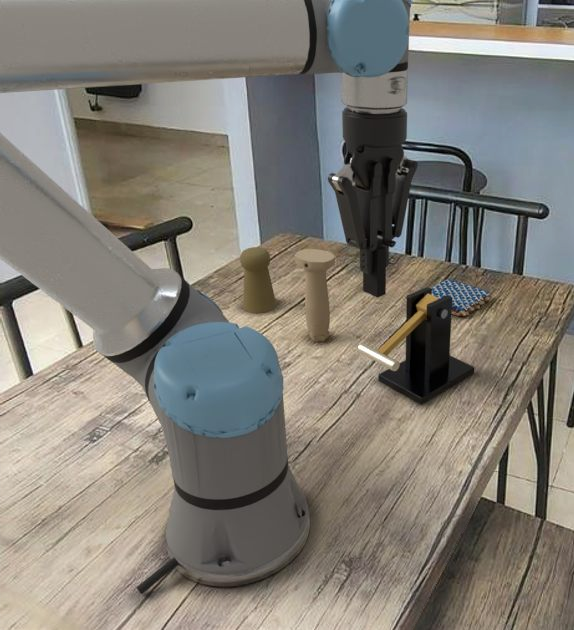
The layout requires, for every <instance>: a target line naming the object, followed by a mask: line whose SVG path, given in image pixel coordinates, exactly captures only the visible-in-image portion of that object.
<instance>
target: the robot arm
mask: <svg viewBox="0 0 574 630" xmlns="http://www.w3.org/2000/svg"><path fill="white" fill-rule="evenodd" d="M411 8H412V1H411V0H0V94H9V93H10V94H11V93H25V92H40V91H56V90H69V89H72V90H73V89H85V88H88V89H89V88H101V87H117V86H118V87H119V86H133V85H134V86H135V85H149V84H162V83H163V84H165V83H178V82H195V81H209V80H224V79H225V80H226V79H227V80H228V79H242V78H255V77H256V78H257V77H258V78H259V77H272V76H273V77H274V76H286V75H289V76H290V75H318V74H319V75H320V74H337V73H338V74H341V103H342V104H343V105H344V106H346V107H344V109H343V110H342V111H341V121H342V122H341V123H342V124H341V125H342V139H343V141H344V142H345V146H346V152H345V155H344V158H343V166H342V167H341V168H340V170H339V171H338V172H337V173H334V172H331V173H329V175H327V181H328V183H329V185H330V186H331V188H332V189H333V191H334V195H335V199H336V202H337V206H338V212H339V216H340V221H341V225H342V230H343V233H344V238H345V239H344V240H345V242H346V243H345V244H347V245H349V246H351V247H354V248H356V249H358V250H359V269H360V271H361V272H362V288H363V289H362V292H363V293H366V294H368V295H370V296H373V297H375V298H380V297H382V296H385V295H386V294H387V293H386V292H387V291H386V290H387V286H386V285H387V274H386V273H387V268H388V267H389V263H390V256H389V255H390V248H394V247H395V246H396V244H397V241H395V240H394V239H395V238H400V237H402V233H403V228H404V224H405V223H404V222H405V217H406V213H407V212H406V211H407V207H408V202H409V196H410V192H411V187H412V186H411V185H412V181H413V179H414V176H415V174H416V171H417V169H418V167H419V163H418V161H416V160H413V159H410V158H407V156H405V150H404V148H403V144H404V143H406V141H407V139H408V138H407V137H408V112H407V111H406V109H404V108H403V107H405V106H407V104H408V84H409V81H408V80H409V52H410V19H411V17H410V16H411ZM0 260H1V261H3V262H4V263H5V264H6V265H8V266H9V267H10V268H12V269H13V270H14V271H16V272H17V273H18V274H20V275H21V276H22V277H24V278H25V279H26V280H28V281H29V282H30V283H31V284H32V285H34V286H35V287H37V288H38V289H39V290H40V291H42V292H43V293H45V294H46V295H47V296H48V297H50V298H51V299H52V300H54V301H55V302H56V303H58V304H59V305H60V306H62V307H63V308H64V309H65V310H67V311H68V312H70V314H72V315H73V316H75V317H76V318H78V319H79V320H80V321H81V322H83V323H84V324H85V325H87V326H88V327H89V328H91V329H92V339H93V340H92V342H93V343H92V344H93V347H94V349H95V351H96V352H98V353H99V354H100V355H101V356H103V357H104V358H105V359H107V360H108V361H110V362H111V363H112V364H113V365H115V366H116V367H117V368H119V369H121V370H122V371H123V372H125V373H126V374H127V375H128V376H130V377H131V378H133V380H135V381H136V382H137V383H138V384H139V385H140V386H141V387H142V389H143V391H144V393H145V395H146V398H147V400H148V402H149V404H150V405H151V408H152V409H153V412H154V414H155V415H156V418H157V421H158V422H159V424H160V426H161V429H162V432H163V435H164V438H165V439H164V440H165V444H166V448H167V453H168V459H169V465H170V470H171V474H172V475H171V476H172V479H173V485H174V490H173V493H172V499H171V503H170V507H169V512H168V517H167V520H166V524H165V528H164V538H165V539H164V540H165V545H166V549H167V555H168V557H169V560H168V561H167V562H165V563H164V564H163V565H161V566H160V567H159V568H158V569H156V570H155V571H154V572H153V573H152V574H151V575H149V576H147V578H146V579H144V580H143V581H142V582H141V583H139V584H138V585H137V586H136V589H137V591H138V592H139V593H140V595H143V594H144V593H146V592H147V591H149V590H150V589H151V587H153V586H154V585H155V584H156V583H157V582H159V581H160V580H161V579H162V578H164V577H165V576H166V575H167V574H169V573H170V572H171V571H173V570H174V569H175V570H177V571H178V572H179V573H180V574H181V575H182V576H184V577H185V578H187V579H189V580H191V581H192V582H194V583H197V584H201V585H206V586H210V587H222V588H224V587H237V586H243V585H248V584H252V583H256V582H258V581H261V580H263V579H266V578H268V577H270V576H272V575H274V574H276V573H277V572H279V571H280V570H282V569H284V568H285V567H286V566H288V565H289V564H290V563H291V562H292V561H294V560H295V558H296V557H297V556H298V555H299V554H300V552H301V551H302V549H303V548H304V546H305V544H306V542H307V540H308V537H309V533H310V530H311V529H310V527H311V520H310V507H309V502H308V501H307V498H306V496H305V494H304V493H303V490H302V489H301V487H300V485H299V483H298V481H297V479H296V477H295V476H294V474H293V472H292V470H291V468H290V467H289V466H290V465H289V457H288V456H289V455H288V442H287V428H286V417H285V415H286V414H285V403H284V402H285V401H284V375H283V373H282V372H283V371H282V368H281V365H280V361H279V356H278V353H277V351H276V349H275V347H274V345H273V344H272V342H271V341H270V339H268V337H266V336H265V335H264V334H262V333H261V332H259V331H258V330H256V329H254V328H251V327H249V326H247V325H246V326H243V327H239V324H238V323H235V322H230V321H229V320H228V318H227V317H226V315H224V312H223V310H222V309H221V308H220V306H219V305H218V304H217V303H216V302H215V301H214V300H213V299H212V298H211V296H208V295H207V294H206V293H203V292H201V291H200V290H199V289H196V288H194V287H193V285H191V284H190V283H189V282H188V281H187V280H186V279H185V278H184V277H183V276H182V275H180V274H179V272H177V271H176V270H174V269H172V268H167V267H164V268H151V267H150V266H149V265H148V264H147V263H146V262H145V261H144V260H143V259H142V258H140V257H139V256H138V255H137V254H136V253H135V252H134V251H132V250H131V249H130V248H129V247H128V246H127V245H126V244H125V243H123V242H122V240H121V239H119V238H118V237H117V236H116V235H115V234H114V233H112V232H111V231H110V230H109V229H108V228H107V227H106V226H105V225H104V224H102V223H101V221H99V220H98V219H97V218H96V217H95V216H93V214H91V213H90V212H89V211H88V210H87V209H85V207H83V205H81V204H80V203H79V202H78V201H77V200H76V199H74V197H73V196H72V195H70V194H69V192H67V191H66V190H64V189H63V188H62V187H61V185H59V184H58V183H57V182H56V181H55V180H54V179H52V177H50V176H49V175H48V174H47V173H45V171H43V170H42V169H41V168H40V166H38V165H37V164H35V162H33V160H32V159H30V158H29V157H28V156H27V155H26V154H25V153H23V152H22V151H21V150H20V149H19V148H18V147H17V146H16V145H15V144H13V142H11V141H10V140H9V139H8V138H7V137H6V136H4V135H3V134H2V133H1V132H0Z"/></svg>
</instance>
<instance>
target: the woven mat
mask: <svg viewBox="0 0 574 630" xmlns="http://www.w3.org/2000/svg"><path fill="white" fill-rule="evenodd" d="M431 289H432V295H433V296H435V297H438V298H439V299H440V298H442V297H444V296H447V295H448V296H451V297H452V315H454V316H458V317H459V316H460V317H464V316H465V317H466V316H469V315H470V313H471V312H473V311H475V310H480V309H481V305H482V306H484V305H485V302H488V301H491V292H490V291H487V289H486V288H485V289H482V288H479V286H477V287H475V286H473V285H472V284H469V285H468V284H466V283H465V282H459V281H458V280H453V279H451V278H448V279H444V281H441V282H440V283H437V284H436V285H435V287H432V288H431Z"/></svg>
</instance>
